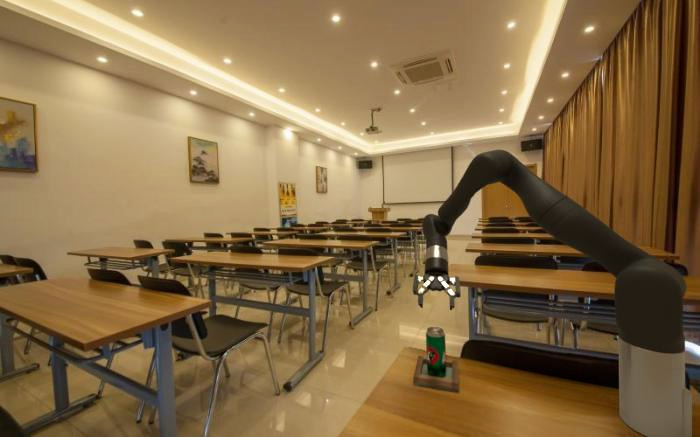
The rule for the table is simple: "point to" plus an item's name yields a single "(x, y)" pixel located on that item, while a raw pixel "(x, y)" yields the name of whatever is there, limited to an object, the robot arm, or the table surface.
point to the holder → (442, 383)
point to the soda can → (436, 351)
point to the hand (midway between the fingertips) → (435, 307)
